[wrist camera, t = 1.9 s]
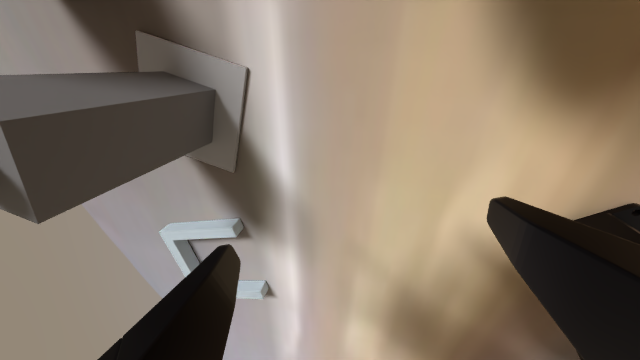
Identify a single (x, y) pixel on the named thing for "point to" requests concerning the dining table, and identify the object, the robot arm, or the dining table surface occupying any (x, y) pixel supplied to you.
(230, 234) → the blue bay
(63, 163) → the plug block
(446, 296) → the dining table surface
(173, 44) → the grey pad
